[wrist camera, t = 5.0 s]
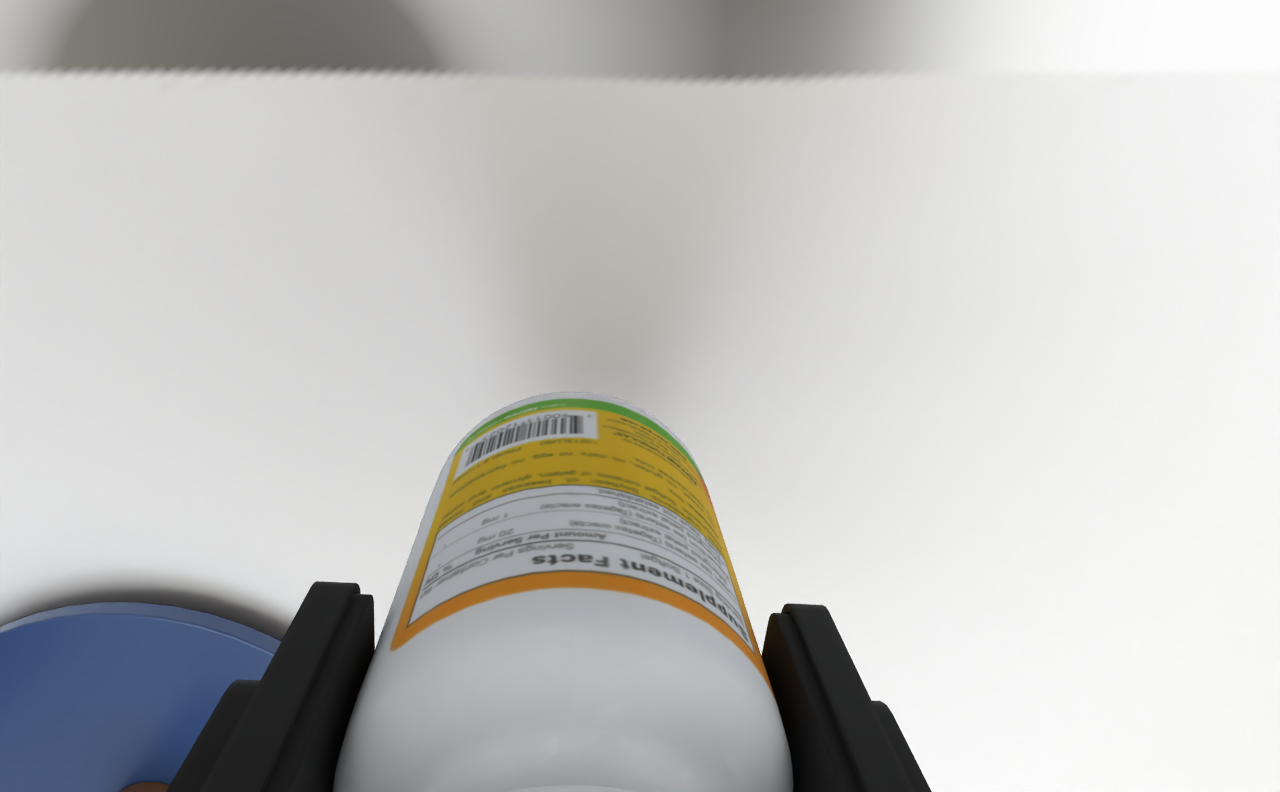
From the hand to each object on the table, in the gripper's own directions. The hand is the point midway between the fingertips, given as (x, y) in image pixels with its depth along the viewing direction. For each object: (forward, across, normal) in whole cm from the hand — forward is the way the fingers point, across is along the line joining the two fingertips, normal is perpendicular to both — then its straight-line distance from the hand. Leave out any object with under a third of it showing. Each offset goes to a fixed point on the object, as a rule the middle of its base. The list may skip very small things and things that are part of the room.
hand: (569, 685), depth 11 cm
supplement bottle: (+5, 0, 0) cm, 5 cm away
